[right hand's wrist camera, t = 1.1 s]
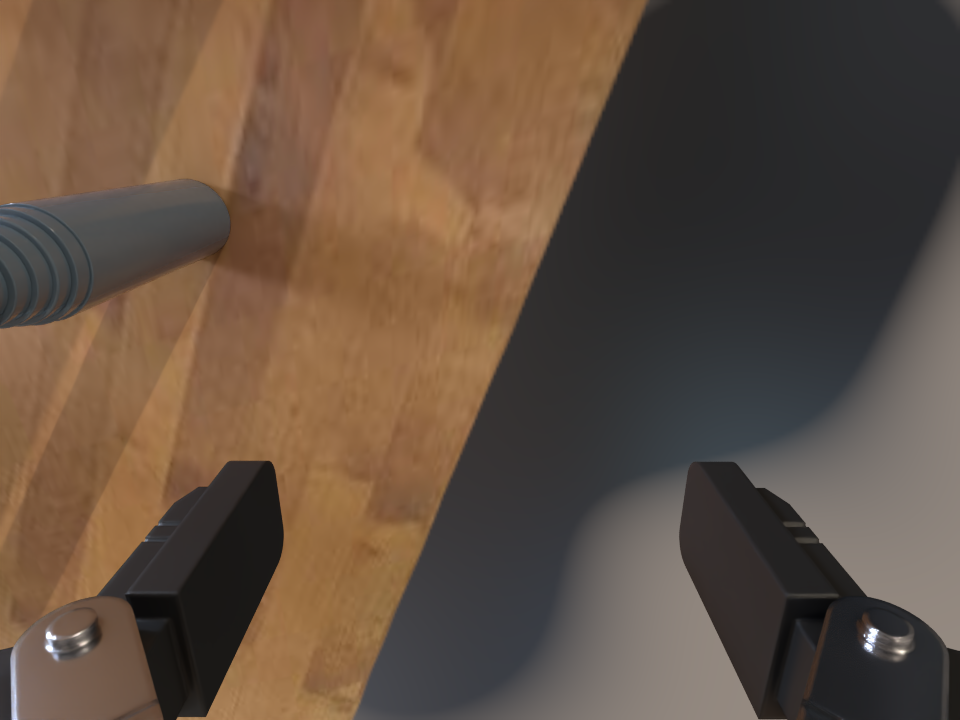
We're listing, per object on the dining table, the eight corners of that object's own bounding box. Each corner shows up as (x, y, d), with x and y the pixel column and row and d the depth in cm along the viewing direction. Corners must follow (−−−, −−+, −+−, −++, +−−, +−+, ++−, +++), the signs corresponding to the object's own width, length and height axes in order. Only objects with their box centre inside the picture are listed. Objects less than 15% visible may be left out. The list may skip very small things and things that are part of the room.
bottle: (140, 187, 38) (-234, 242, 18) (215, 172, 37) (-82, 211, 18) (169, 263, 39) (-143, 391, 20) (241, 249, 39) (-4, 365, 19)
